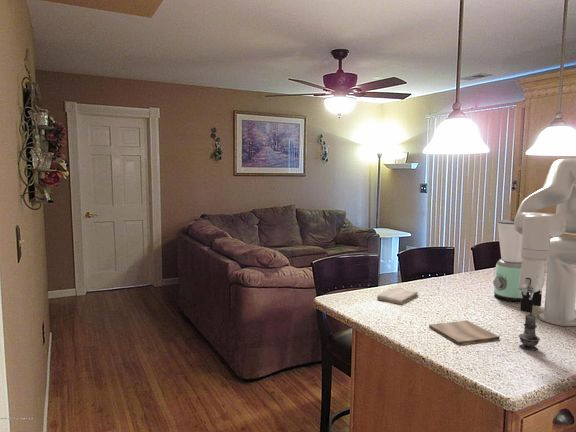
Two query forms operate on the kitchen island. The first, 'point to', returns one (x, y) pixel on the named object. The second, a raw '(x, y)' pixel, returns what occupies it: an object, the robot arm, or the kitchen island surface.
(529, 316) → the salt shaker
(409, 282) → the kitchen island surface
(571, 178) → the robot arm
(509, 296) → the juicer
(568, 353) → the kitchen island surface
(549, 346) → the kitchen island surface
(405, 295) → the washcloth
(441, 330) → the walnut board
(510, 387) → the kitchen island surface
